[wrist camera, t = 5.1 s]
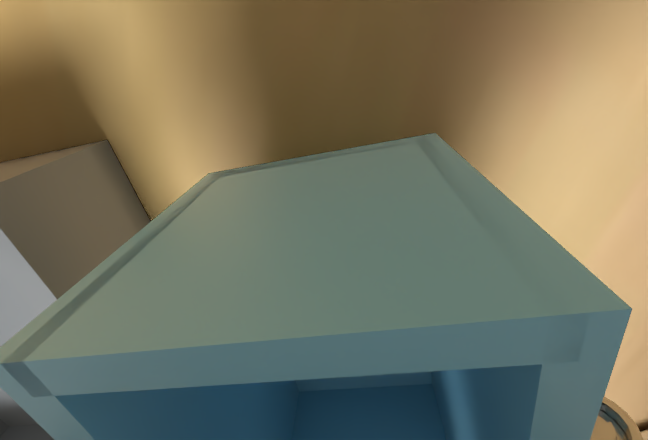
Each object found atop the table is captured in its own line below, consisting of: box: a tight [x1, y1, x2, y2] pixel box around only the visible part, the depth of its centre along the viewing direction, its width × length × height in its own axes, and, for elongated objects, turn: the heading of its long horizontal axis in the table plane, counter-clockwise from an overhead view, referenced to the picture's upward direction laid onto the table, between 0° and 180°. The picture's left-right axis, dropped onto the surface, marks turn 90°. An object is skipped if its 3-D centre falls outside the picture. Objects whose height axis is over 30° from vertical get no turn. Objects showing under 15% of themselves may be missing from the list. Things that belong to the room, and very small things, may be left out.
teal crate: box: [0, 133, 632, 440], centre depth 8 cm, size 6×10×6 cm, turn 11°
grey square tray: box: [0, 140, 151, 440], centre depth 15 cm, size 17×17×5 cm
